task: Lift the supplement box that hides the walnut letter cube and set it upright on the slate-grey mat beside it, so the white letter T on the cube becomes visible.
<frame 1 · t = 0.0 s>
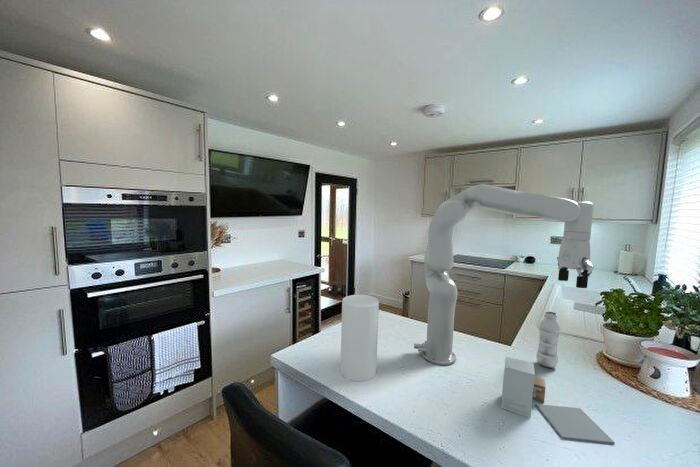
hand: (571, 284, 101), 31 cm above the countertop, fingers open, 9 cm apart
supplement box: (515, 406, 82), on the countertop
letter cube: (533, 395, 87), on the countertop
cylinder: (358, 370, 98), on the countertop
plastic bottle: (546, 365, 105), on the countertop
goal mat: (571, 423, 76), on the countertop
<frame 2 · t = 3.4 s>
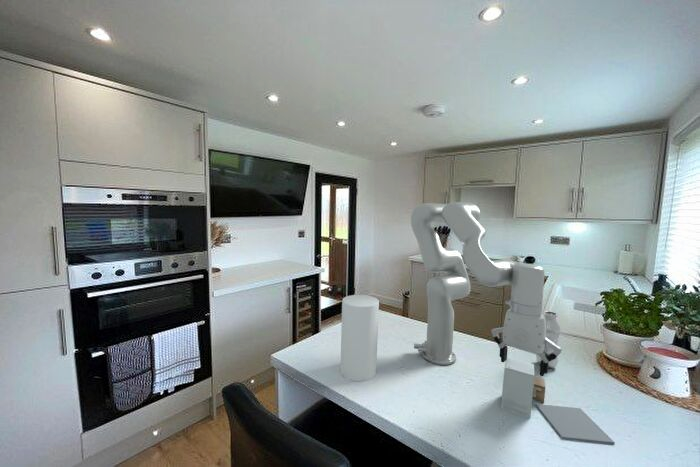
hand: (522, 367, 80), 12 cm above the countertop, fingers open, 9 cm apart
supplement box: (515, 407, 82), on the countertop, touching gripper
everything else where it was.
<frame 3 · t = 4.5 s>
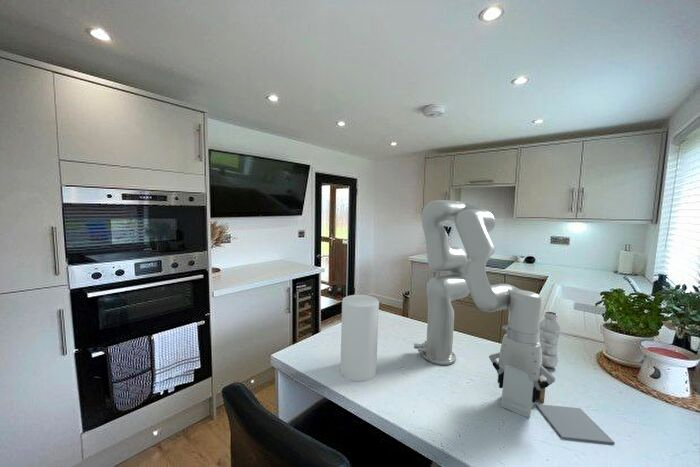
hand: (517, 392, 81), 4 cm above the countertop, fingers closed on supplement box, 8 cm apart
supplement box: (516, 406, 82), on the countertop, touching gripper
everything else where it was.
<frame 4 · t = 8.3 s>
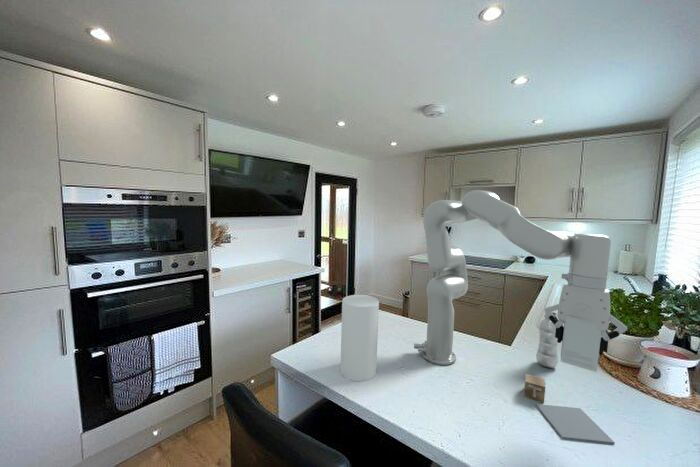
hand: (579, 346, 74), 21 cm above the countertop, fingers closed on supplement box, 8 cm apart
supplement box: (577, 362, 75), point 17 cm above the countertop, touching gripper
everything else where it was.
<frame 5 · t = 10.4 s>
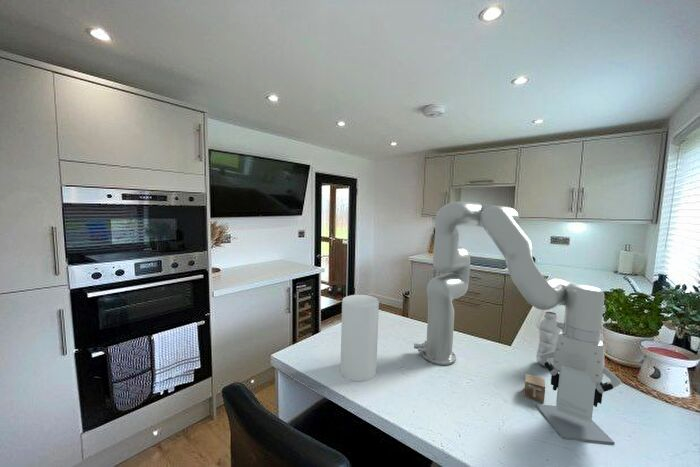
hand: (574, 395, 75), 8 cm above the countertop, fingers closed on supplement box, 8 cm apart
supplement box: (573, 410, 76), point 4 cm above the countertop, touching gripper
everything else where it was.
when the fingers open (6 cm above the countertop, at t = 12.0 s): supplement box drops 1 cm, resting on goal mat.
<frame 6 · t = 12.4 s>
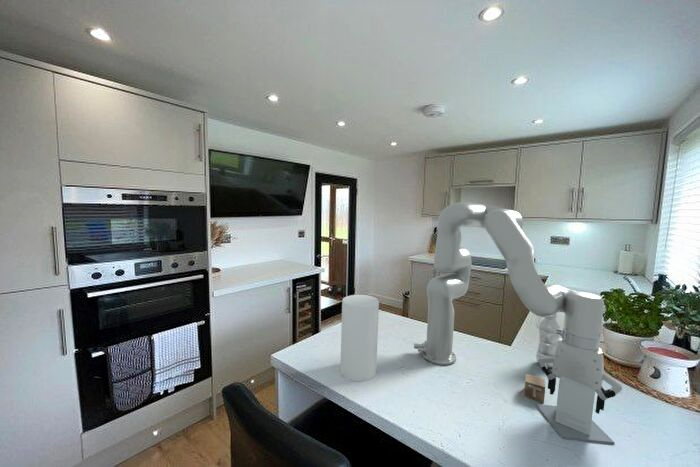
hand: (574, 401, 75), 6 cm above the countertop, fingers open, 9 cm apart
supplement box: (572, 421, 76), resting on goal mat
everything else where it was.
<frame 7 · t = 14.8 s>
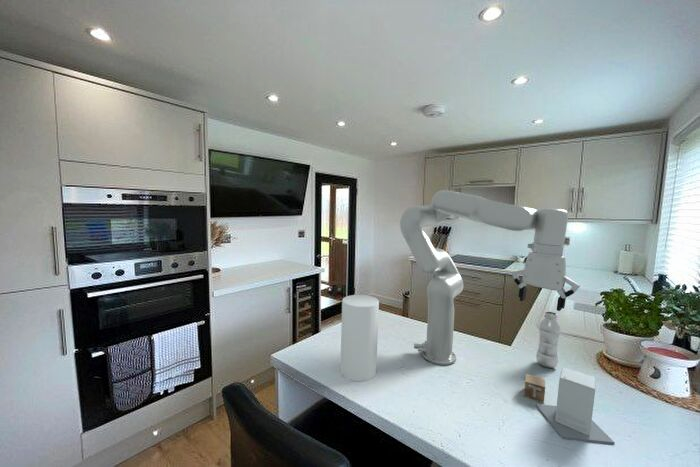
hand: (540, 304, 86), 28 cm above the countertop, fingers open, 9 cm apart
nothing on the countertop moved.
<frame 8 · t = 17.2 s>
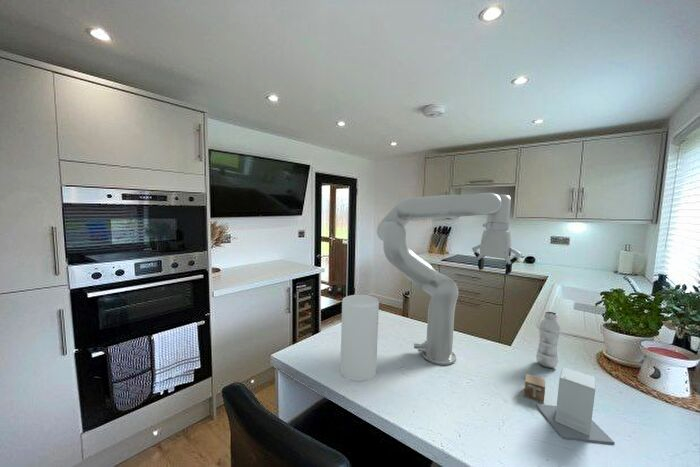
hand: (493, 271, 108), 33 cm above the countertop, fingers open, 9 cm apart
nothing on the countertop moved.
at the end: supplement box inside the target area on the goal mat (0.3 cm from its centre), point 0.3 cm above the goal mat's base; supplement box tilted 0°; letter cube moved 0.1 cm from its start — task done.
